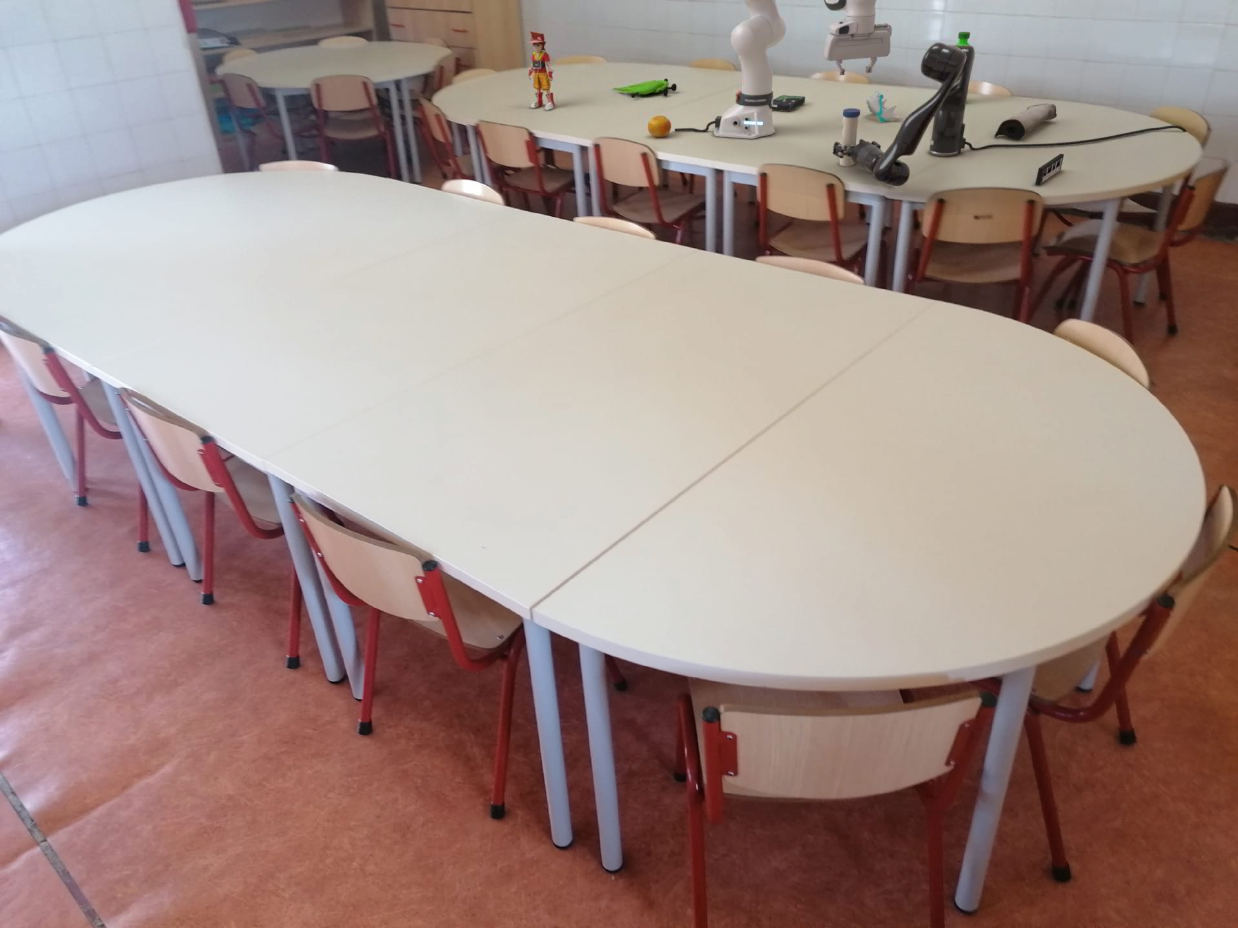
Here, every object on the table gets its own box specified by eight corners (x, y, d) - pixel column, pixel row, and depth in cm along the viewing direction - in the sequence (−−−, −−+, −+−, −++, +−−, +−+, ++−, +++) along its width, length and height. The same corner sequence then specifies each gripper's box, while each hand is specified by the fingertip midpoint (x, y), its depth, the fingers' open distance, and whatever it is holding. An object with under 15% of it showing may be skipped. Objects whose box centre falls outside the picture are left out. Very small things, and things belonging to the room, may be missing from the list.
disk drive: (790, 112, 355) (805, 103, 365) (791, 105, 353) (805, 96, 363) (766, 110, 360) (781, 101, 370) (766, 103, 358) (781, 94, 368)
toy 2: (686, 85, 398) (631, 84, 414) (685, 72, 395) (629, 72, 411) (651, 104, 381) (596, 103, 397) (650, 92, 378) (594, 91, 394)
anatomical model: (861, 90, 342) (887, 83, 342) (863, 118, 348) (889, 111, 348) (873, 100, 330) (900, 92, 329) (875, 128, 336) (902, 121, 335)
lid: (850, 118, 285) (850, 113, 284) (839, 115, 289) (839, 110, 288) (863, 115, 287) (863, 110, 286) (852, 112, 291) (852, 107, 290)
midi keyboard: (1039, 185, 269) (1043, 168, 266) (1035, 184, 270) (1038, 168, 267) (1060, 170, 279) (1064, 154, 277) (1056, 169, 280) (1060, 153, 277)
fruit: (641, 128, 333) (652, 109, 330) (648, 131, 340) (659, 112, 337) (658, 141, 331) (670, 121, 328) (665, 143, 339) (677, 124, 336)
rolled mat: (1024, 108, 329) (1048, 91, 321) (1038, 129, 330) (1062, 112, 321) (990, 131, 312) (1014, 113, 304) (1004, 153, 312) (1029, 136, 304)
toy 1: (525, 109, 381) (517, 32, 364) (534, 104, 388) (527, 28, 371) (550, 110, 377) (543, 32, 360) (559, 105, 384) (553, 28, 367)
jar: (845, 167, 294) (850, 114, 285) (836, 163, 298) (841, 111, 288) (856, 164, 296) (862, 112, 286) (847, 161, 299) (852, 109, 290)
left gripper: (888, 21, 276) (883, 69, 284) (824, 26, 275) (820, 74, 283) (896, 24, 271) (890, 73, 279) (830, 29, 270) (826, 78, 278)
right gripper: (891, 142, 279) (869, 129, 292) (848, 147, 277) (828, 134, 291) (888, 166, 284) (867, 153, 297) (845, 171, 282) (826, 157, 295)
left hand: (855, 74), depth 281 cm, fingers open, 7 cm apart
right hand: (847, 143), depth 294 cm, fingers open, 8 cm apart
